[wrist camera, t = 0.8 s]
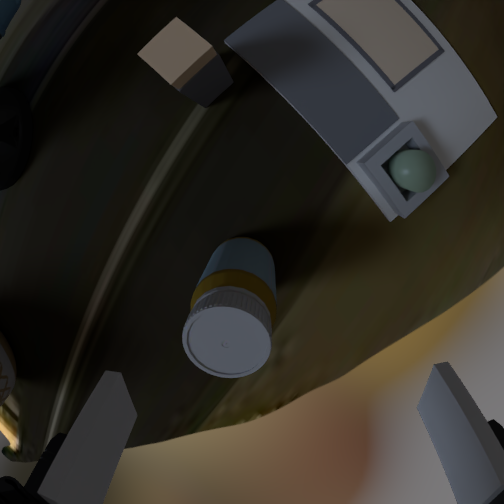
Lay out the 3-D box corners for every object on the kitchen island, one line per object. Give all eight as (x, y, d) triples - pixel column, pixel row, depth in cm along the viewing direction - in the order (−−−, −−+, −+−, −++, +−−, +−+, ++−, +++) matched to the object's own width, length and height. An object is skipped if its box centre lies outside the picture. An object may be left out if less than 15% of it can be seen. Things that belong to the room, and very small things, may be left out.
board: (225, 43, 27) (220, 31, 23) (357, -44, 21) (364, -58, 18) (388, 220, 32) (400, 228, 29) (493, 117, 27) (510, 116, 23)
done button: (380, 165, 28) (392, 167, 25) (406, 141, 27) (420, 141, 24) (402, 195, 29) (415, 201, 26) (427, 172, 28) (443, 175, 25)
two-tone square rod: (180, 84, 28) (135, 54, 17) (207, 58, 27) (176, 15, 16) (205, 108, 29) (170, 86, 18) (233, 82, 28) (214, 46, 17)
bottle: (250, 222, 33) (236, 280, 19) (286, 273, 35) (297, 356, 20) (199, 257, 35) (156, 330, 20) (235, 304, 36) (217, 394, 22)
